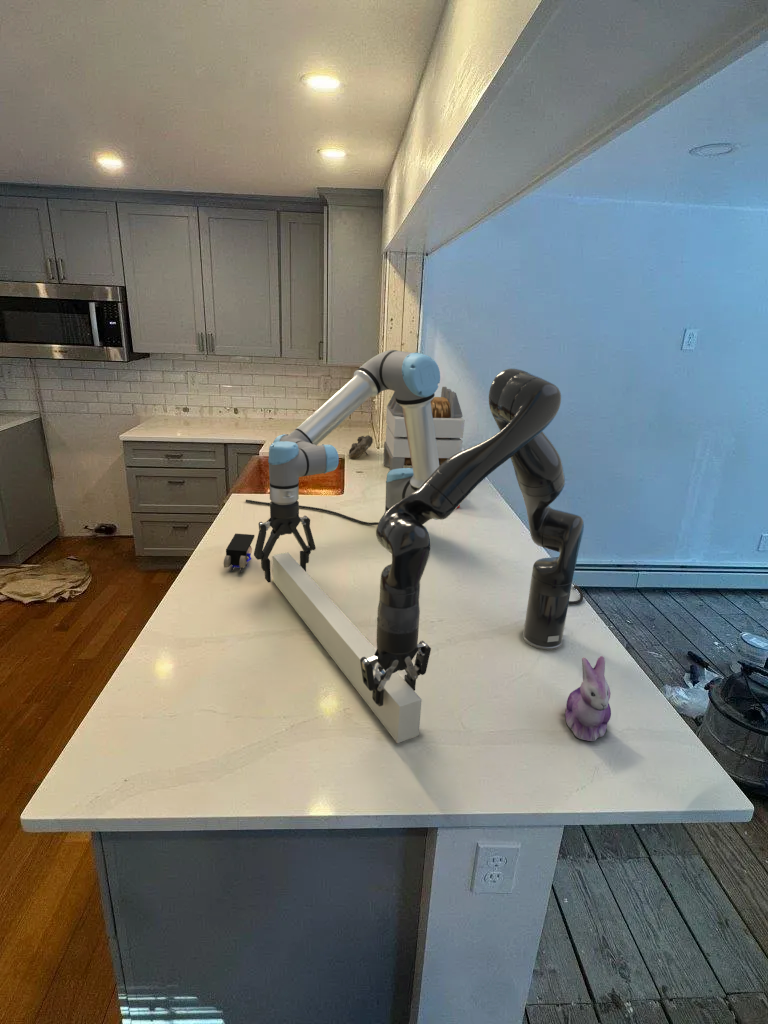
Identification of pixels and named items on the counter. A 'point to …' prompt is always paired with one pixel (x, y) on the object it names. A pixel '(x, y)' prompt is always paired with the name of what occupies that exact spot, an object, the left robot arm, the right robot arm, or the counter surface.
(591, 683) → the figurine
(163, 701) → the counter surface
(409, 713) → the post
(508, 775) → the counter surface
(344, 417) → the left robot arm
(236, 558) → the black wheeled rover
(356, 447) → the fossil
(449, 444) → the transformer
